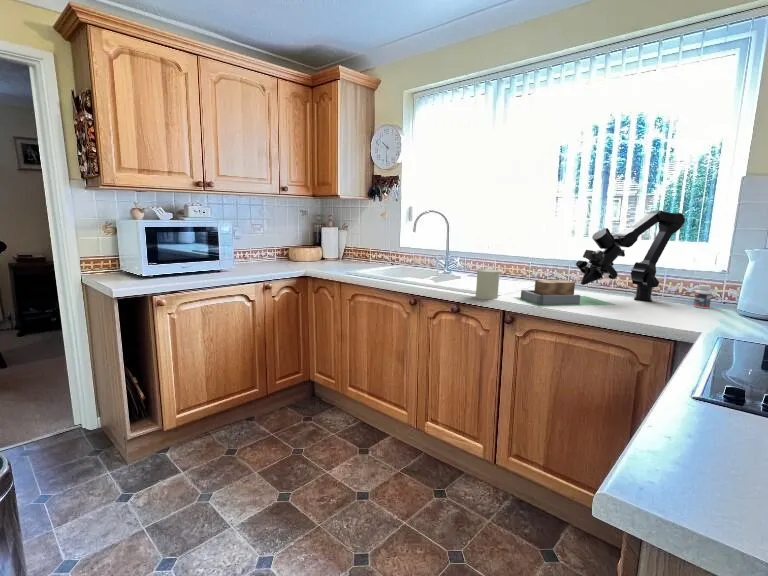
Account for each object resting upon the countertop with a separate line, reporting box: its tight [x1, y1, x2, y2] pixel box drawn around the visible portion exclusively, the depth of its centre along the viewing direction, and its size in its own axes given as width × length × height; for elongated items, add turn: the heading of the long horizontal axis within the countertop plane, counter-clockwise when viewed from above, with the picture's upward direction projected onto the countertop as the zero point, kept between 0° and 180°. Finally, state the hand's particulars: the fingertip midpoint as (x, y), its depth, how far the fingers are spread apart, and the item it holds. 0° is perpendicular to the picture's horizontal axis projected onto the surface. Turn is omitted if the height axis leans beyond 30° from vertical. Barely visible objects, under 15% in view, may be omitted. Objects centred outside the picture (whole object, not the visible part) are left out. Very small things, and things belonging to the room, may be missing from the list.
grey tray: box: [520, 289, 581, 305], centre depth 171 cm, size 18×13×4 cm
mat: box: [512, 295, 617, 308], centre depth 173 cm, size 35×18×1 cm, turn 104°
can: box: [475, 268, 501, 301], centre depth 176 cm, size 9×9×12 cm
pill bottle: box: [692, 284, 712, 309], centre depth 169 cm, size 5×5×9 cm
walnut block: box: [533, 279, 576, 295], centre depth 171 cm, size 14×6×8 cm, turn 104°
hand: (582, 284), depth 174 cm, fingers closed
